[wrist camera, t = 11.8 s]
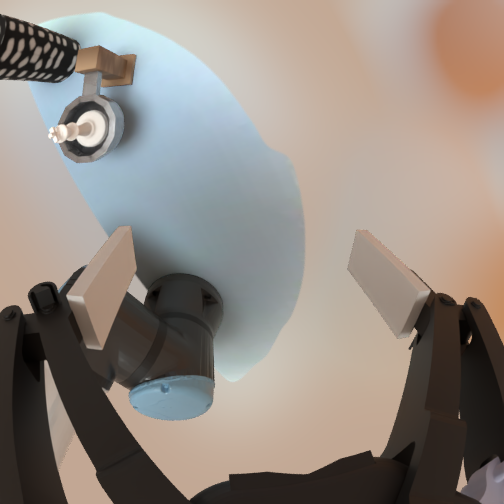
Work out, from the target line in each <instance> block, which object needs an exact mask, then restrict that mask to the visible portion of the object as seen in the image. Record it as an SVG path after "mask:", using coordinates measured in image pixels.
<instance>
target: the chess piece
mask: <svg viewBox="0 0 504 504" xmlns="http://www.w3.org/2000/svg"><path fill="white" fill-rule="evenodd" d="M49 130H50V132H51V133H50V134H49V135H48V136H49V138H53V140H54V142H55V143H62V142H64V141H65V140H68V141H73V140H75V139H77V141H78V142H79V143H80V144H81V145H83V146H86V147H94V146H96V145H98V144H100V143H101V142H102V141H103V140H104V138H105V137H106V134H107V131H108V121H107V118H106V116H105V115H104V114H103V113H102V112H100V111H97V110H91V111H88V112H86V113H84V114H83V115H81V116H80V118H79V119H78V121H77V123H73V122H72V123H69V124H67V125H64V124H60V125H58V126H57V127H56V128H55V127H52V128H51V129H49Z"/></svg>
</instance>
